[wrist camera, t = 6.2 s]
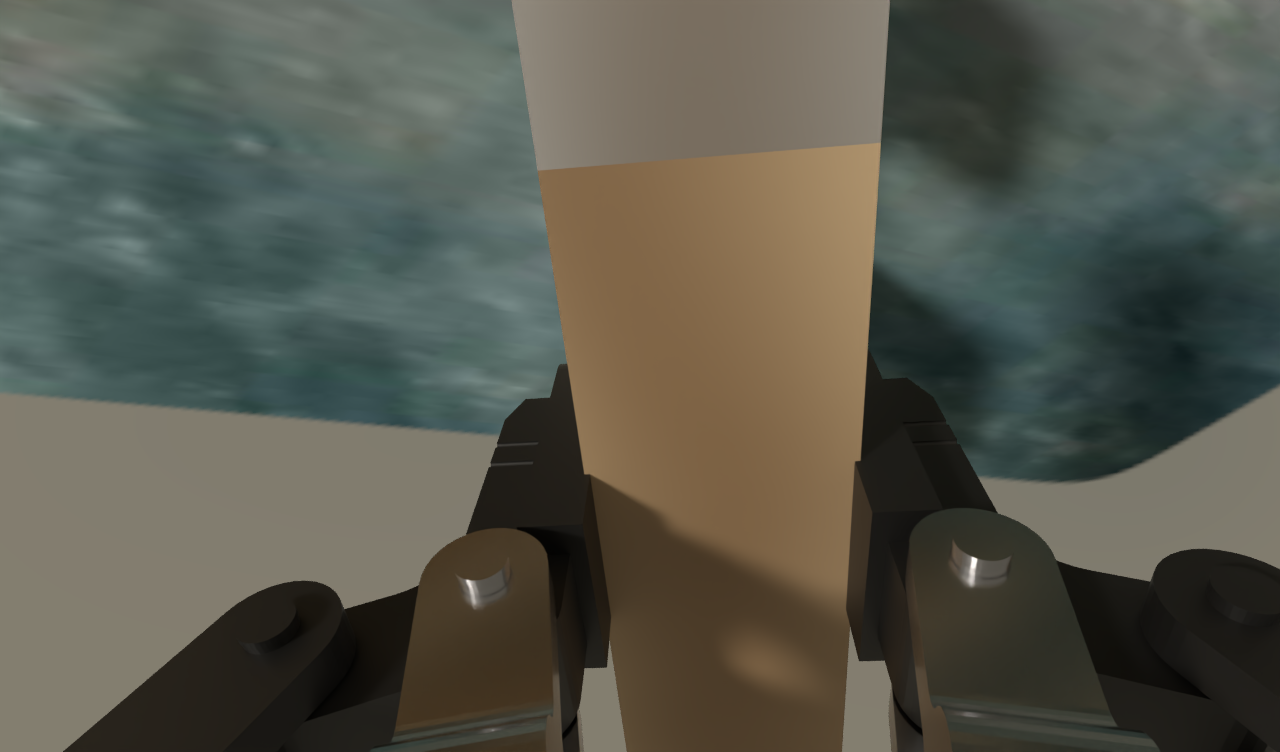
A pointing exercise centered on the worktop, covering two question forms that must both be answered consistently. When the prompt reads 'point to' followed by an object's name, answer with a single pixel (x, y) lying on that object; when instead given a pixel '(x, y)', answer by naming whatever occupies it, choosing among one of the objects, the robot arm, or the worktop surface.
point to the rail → (715, 339)
